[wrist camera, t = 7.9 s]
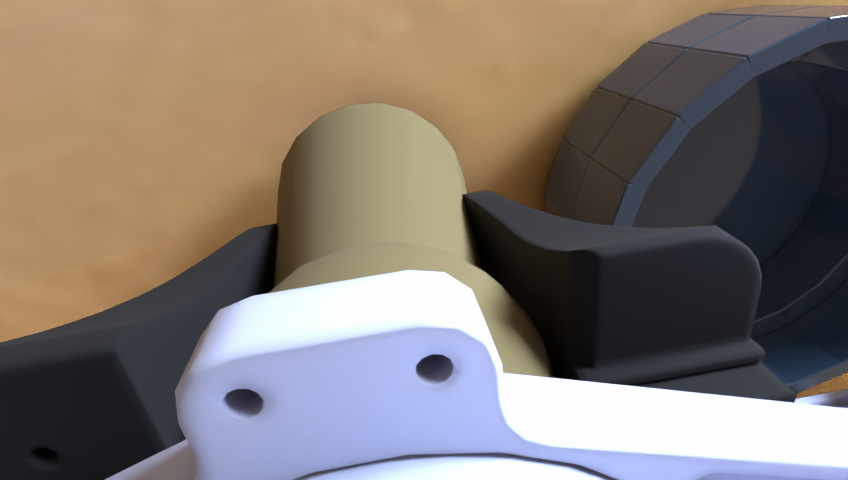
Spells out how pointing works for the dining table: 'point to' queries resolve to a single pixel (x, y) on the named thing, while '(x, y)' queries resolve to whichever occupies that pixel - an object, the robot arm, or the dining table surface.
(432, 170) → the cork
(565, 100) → the dining table surface
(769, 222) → the blue bowl
